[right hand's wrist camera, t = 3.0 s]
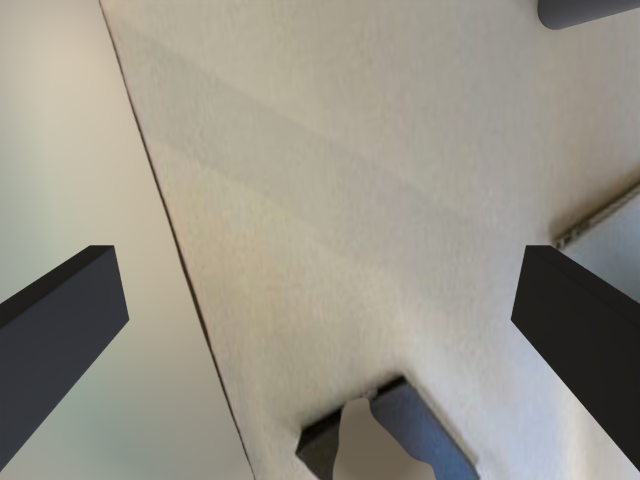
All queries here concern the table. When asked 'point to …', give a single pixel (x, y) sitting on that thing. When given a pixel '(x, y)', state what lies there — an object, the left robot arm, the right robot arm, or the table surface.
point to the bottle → (579, 11)
